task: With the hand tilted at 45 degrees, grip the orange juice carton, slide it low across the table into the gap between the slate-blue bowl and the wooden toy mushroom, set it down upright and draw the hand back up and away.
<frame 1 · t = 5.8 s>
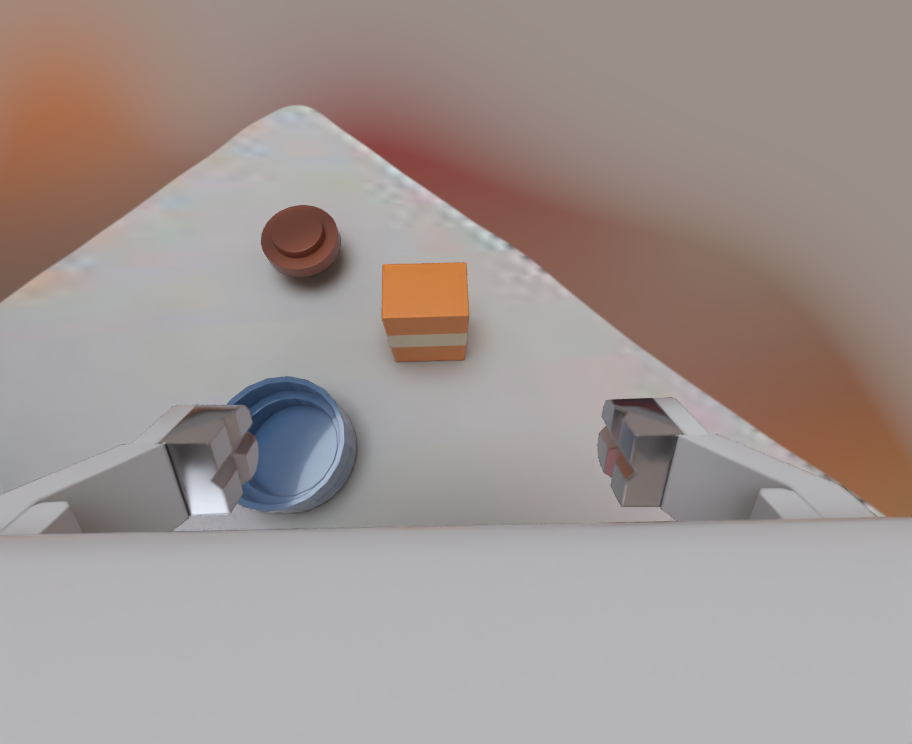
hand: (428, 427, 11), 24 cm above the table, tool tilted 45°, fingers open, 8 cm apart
wooden mushroom: (312, 262, 39), on the table
blue bowl: (298, 451, 34), on the table
juice carton: (429, 338, 37), on the table
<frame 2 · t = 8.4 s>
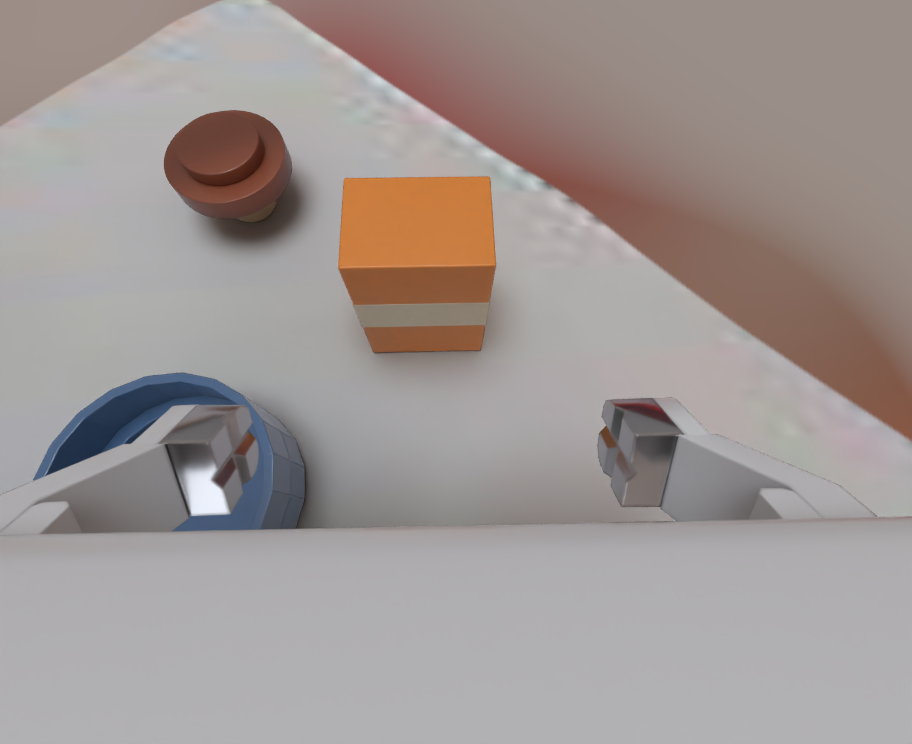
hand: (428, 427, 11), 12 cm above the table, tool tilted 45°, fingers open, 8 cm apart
wooden mushroom: (254, 204, 26), on the table
blue bowl: (212, 494, 21), on the table
juice carton: (426, 317, 24), on the table
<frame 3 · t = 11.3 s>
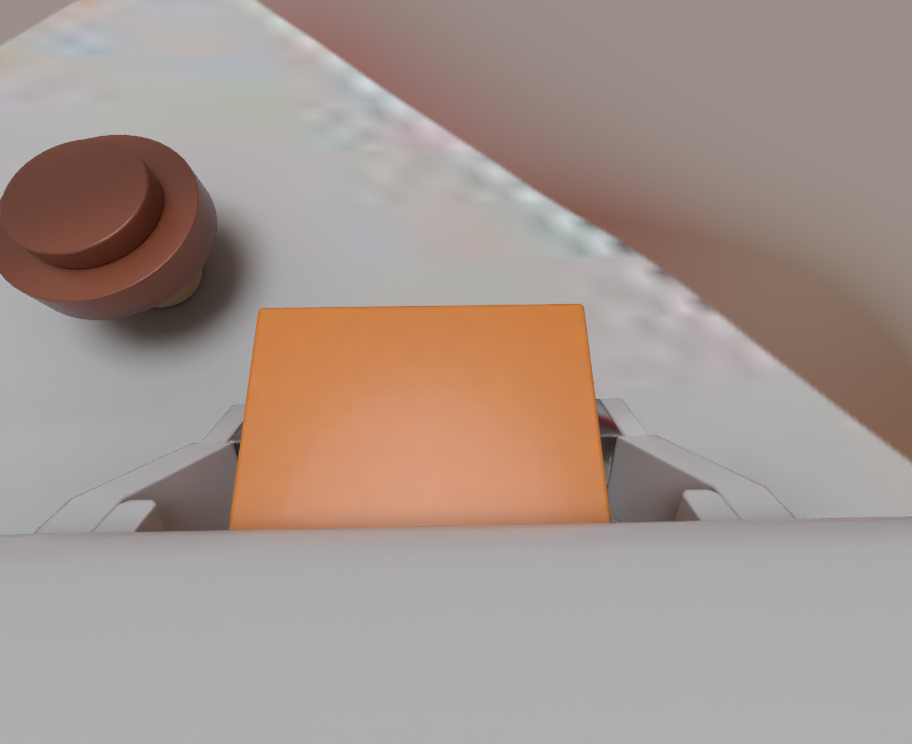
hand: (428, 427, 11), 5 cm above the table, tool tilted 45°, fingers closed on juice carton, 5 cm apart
wooden mushroom: (168, 277, 17), on the table
juice carton: (436, 476, 15), on the table, touching gripper
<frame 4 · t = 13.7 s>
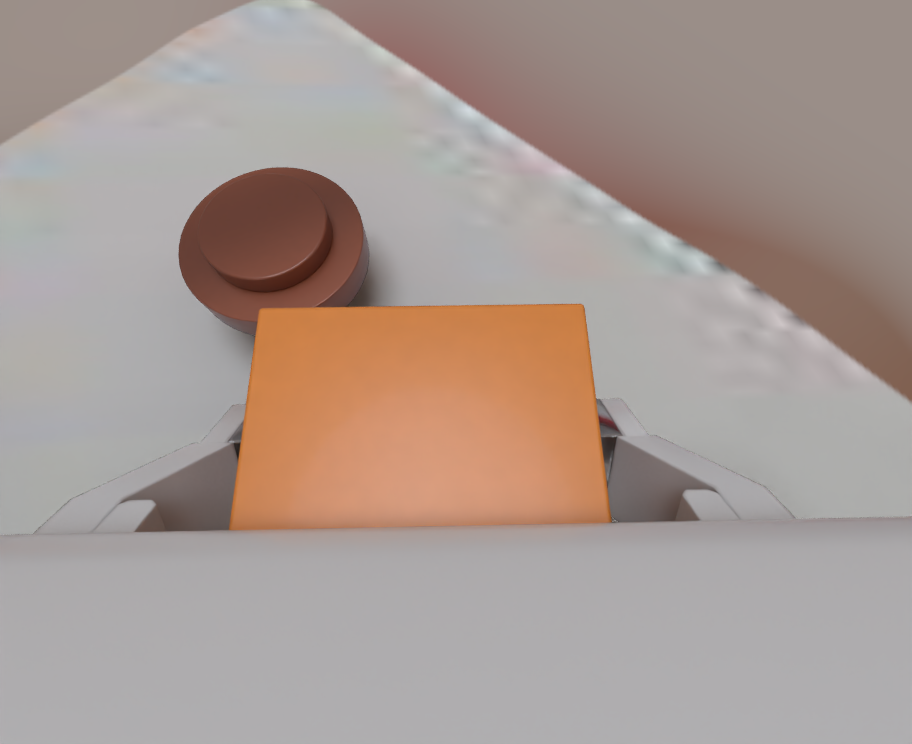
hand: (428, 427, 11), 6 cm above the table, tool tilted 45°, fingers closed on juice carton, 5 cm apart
wooden mushroom: (305, 294, 18), on the table
juice carton: (436, 476, 15), point 1 cm above the table, touching gripper
when the fingers open (4 cm above the table, at t = 16.1 s): juice carton stays where it is, on the table.
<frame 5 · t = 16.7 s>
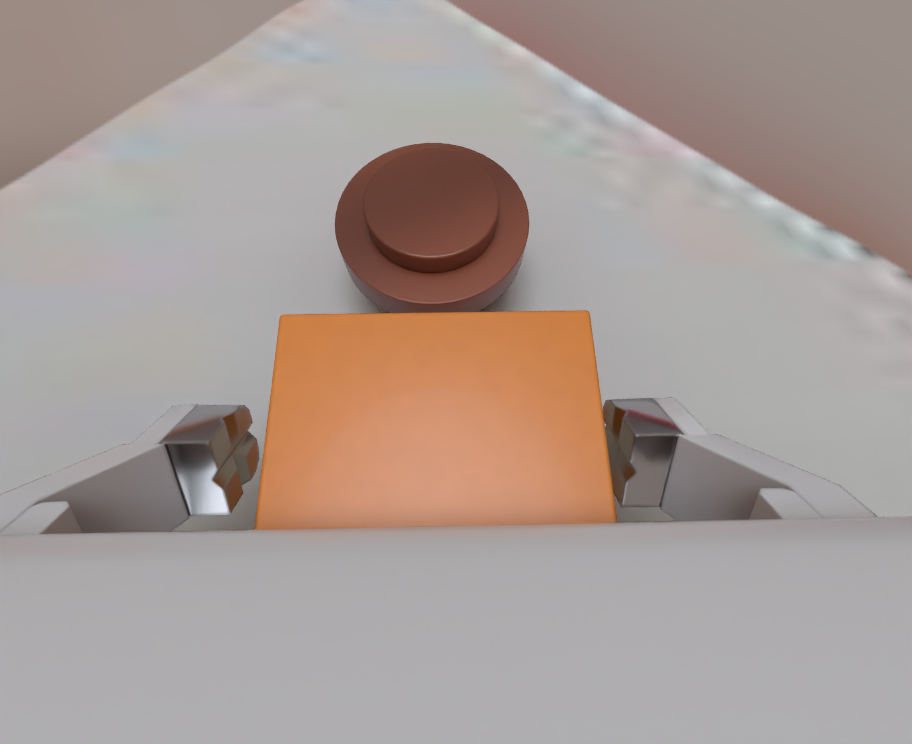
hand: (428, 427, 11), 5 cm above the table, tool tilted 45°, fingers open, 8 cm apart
wooden mushroom: (435, 280, 17), on the table
juice carton: (443, 476, 15), on the table
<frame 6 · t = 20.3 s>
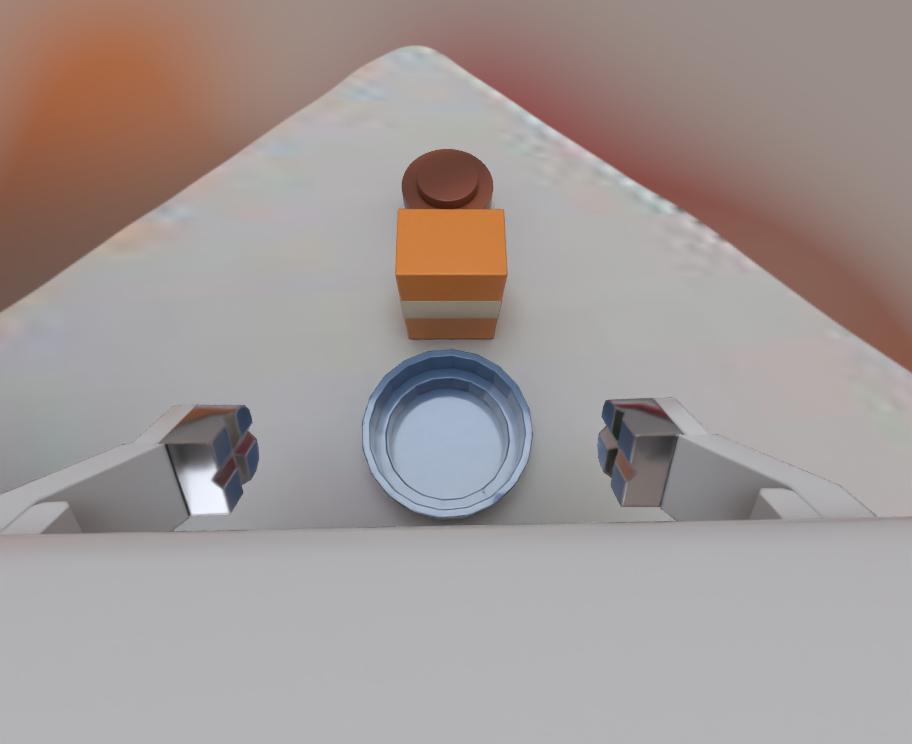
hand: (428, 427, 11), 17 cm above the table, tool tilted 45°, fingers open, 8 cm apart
wooden mushroom: (447, 220, 33), on the table
blue bowl: (447, 444, 28), on the table
juice carton: (450, 312, 31), on the table
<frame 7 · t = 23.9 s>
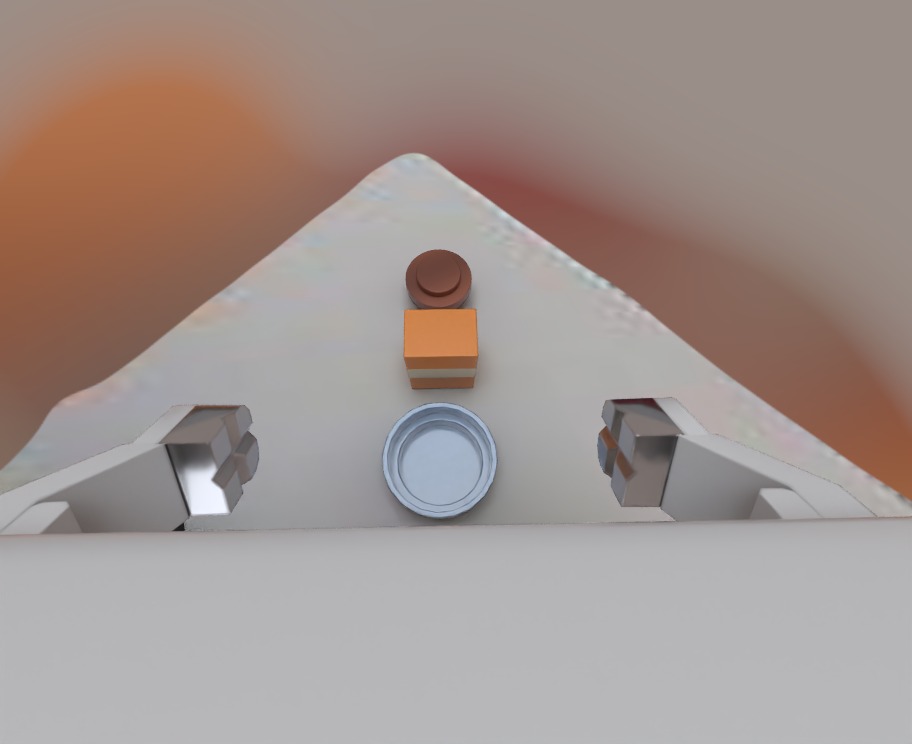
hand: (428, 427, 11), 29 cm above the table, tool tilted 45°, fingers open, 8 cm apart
wooden mushroom: (439, 297, 45), on the table
blue bowl: (440, 465, 39), on the table
juice carton: (442, 368, 42), on the table
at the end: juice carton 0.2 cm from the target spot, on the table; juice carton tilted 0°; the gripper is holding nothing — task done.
